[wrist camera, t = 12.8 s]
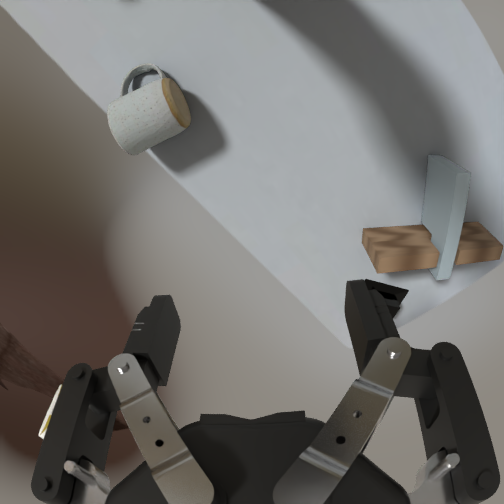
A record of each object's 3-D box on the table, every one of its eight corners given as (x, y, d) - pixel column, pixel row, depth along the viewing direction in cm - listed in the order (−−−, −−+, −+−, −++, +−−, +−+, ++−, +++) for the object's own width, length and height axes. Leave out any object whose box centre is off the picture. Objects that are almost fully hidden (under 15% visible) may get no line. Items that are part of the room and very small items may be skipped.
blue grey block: (428, 154, 38) (456, 172, 31) (441, 155, 37) (471, 173, 31) (416, 251, 46) (436, 280, 39) (428, 250, 46) (449, 278, 39)
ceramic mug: (199, 122, 37) (185, 133, 31) (145, 148, 39) (123, 164, 33) (167, 52, 32) (146, 48, 26) (114, 81, 34) (85, 85, 27)
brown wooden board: (361, 242, 46) (377, 273, 39) (362, 228, 44) (379, 258, 38) (475, 234, 44) (499, 259, 37) (478, 221, 43) (503, 246, 36)
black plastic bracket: (341, 303, 53) (346, 321, 49) (360, 270, 49) (367, 287, 45) (397, 315, 54) (404, 332, 50) (417, 285, 50) (426, 302, 47)
